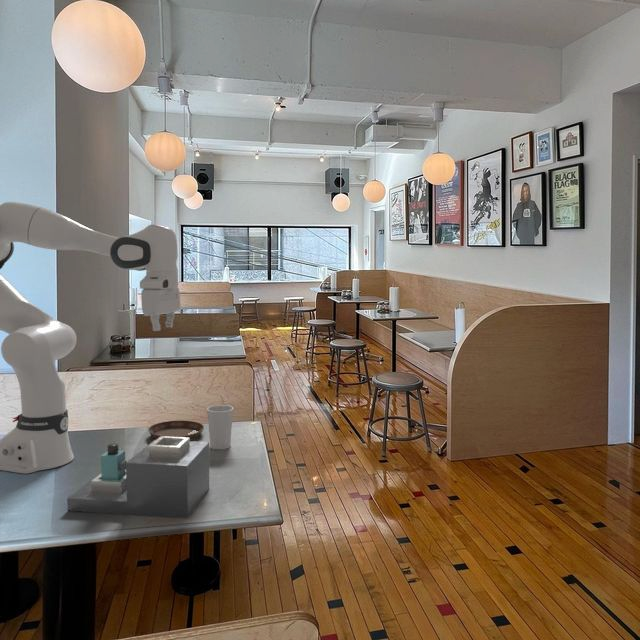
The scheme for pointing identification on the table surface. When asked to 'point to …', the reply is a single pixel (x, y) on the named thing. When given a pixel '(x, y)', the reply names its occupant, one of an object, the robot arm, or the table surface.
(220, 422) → the cup
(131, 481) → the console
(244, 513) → the table surface
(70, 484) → the table surface
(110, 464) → the plug
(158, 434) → the plant saucer
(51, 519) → the table surface
